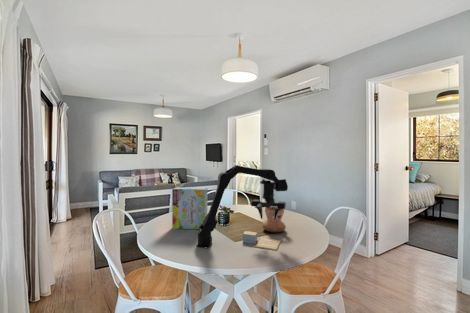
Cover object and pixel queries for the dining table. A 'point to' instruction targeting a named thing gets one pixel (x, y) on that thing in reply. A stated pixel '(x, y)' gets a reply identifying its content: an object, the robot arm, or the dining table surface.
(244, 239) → the stub
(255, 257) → the dining table surface
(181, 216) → the snack box
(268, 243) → the pad
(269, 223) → the ceramic jug
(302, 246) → the dining table surface
